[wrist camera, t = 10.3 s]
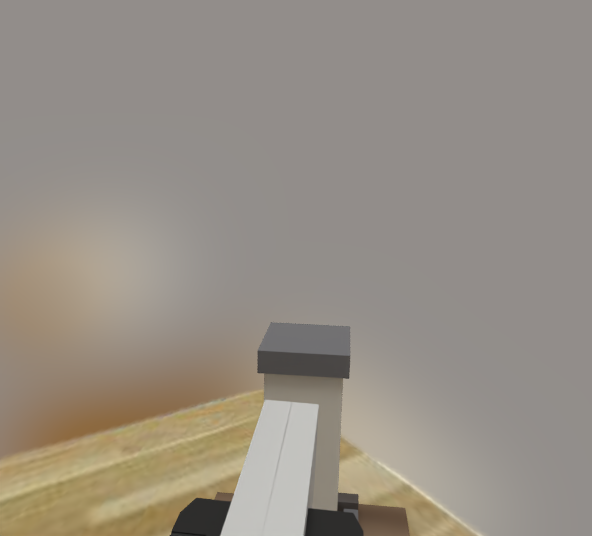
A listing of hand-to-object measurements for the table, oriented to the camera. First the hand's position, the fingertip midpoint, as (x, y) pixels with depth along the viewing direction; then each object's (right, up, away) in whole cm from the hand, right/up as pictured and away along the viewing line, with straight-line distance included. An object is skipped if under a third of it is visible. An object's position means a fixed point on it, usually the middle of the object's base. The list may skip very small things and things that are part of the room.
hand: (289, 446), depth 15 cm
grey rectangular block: (0, -14, +17) cm, 21 cm away
